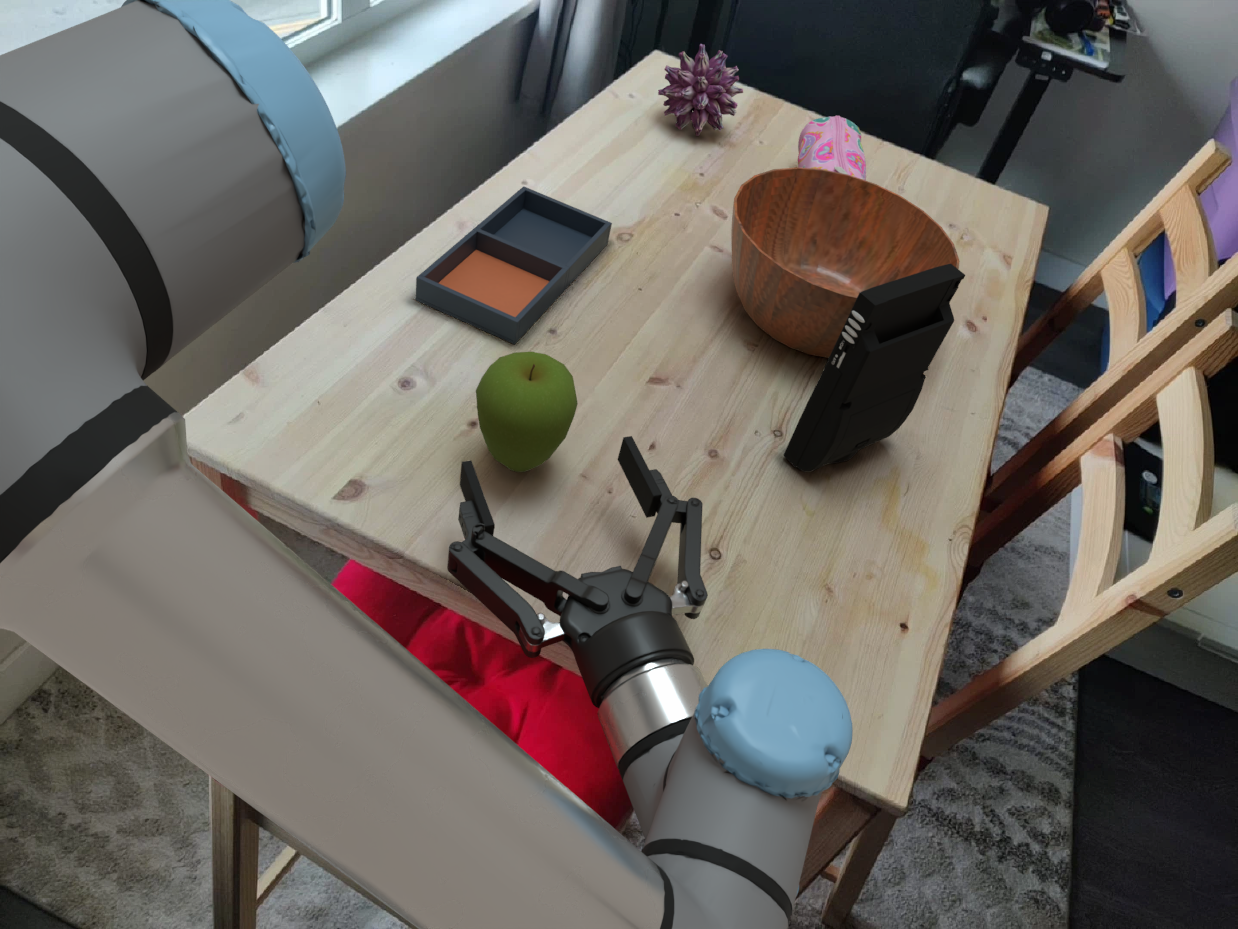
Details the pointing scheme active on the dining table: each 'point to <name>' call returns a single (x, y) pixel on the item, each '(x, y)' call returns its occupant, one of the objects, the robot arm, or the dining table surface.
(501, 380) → the apple
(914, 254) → the bowl
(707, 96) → the flower
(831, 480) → the dining table surface
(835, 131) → the pencil case
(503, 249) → the tray
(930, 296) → the black electronic device
